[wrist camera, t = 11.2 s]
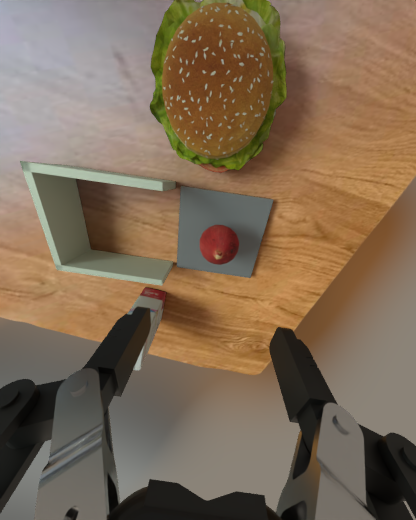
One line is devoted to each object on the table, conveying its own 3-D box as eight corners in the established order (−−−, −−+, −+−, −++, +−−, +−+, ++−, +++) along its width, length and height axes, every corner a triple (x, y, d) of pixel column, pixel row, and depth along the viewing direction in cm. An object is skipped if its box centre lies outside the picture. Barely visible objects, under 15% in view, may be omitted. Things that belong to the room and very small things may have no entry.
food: (298, 63, 19) (347, -9, 11) (240, 186, 25) (248, 190, 18) (186, -6, 17) (162, -140, 10) (153, 145, 23) (124, 130, 16)
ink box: (145, 286, 34) (111, 333, 24) (167, 291, 35) (144, 341, 24) (141, 314, 38) (111, 365, 28) (161, 319, 38) (139, 372, 28)
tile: (178, 264, 31) (176, 267, 30) (182, 185, 25) (180, 186, 24) (249, 275, 31) (250, 277, 30) (271, 198, 25) (273, 199, 24)
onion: (238, 220, 26) (246, 236, 19) (234, 253, 28) (239, 278, 21) (202, 218, 26) (196, 233, 19) (201, 251, 29) (195, 275, 22)
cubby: (86, 253, 32) (57, 269, 26) (66, 165, 25) (19, 161, 19) (172, 266, 32) (162, 285, 26) (176, 181, 25) (162, 182, 19)
